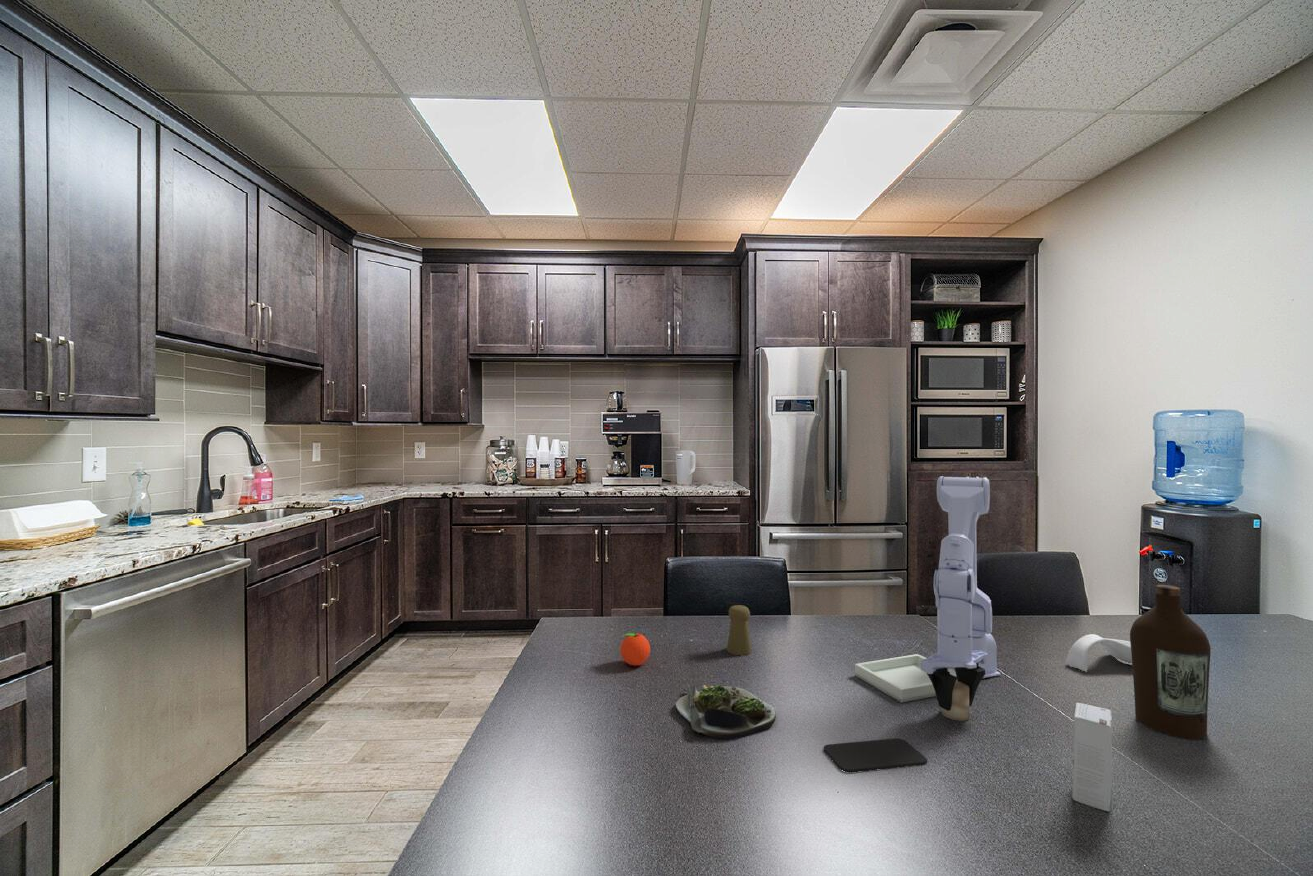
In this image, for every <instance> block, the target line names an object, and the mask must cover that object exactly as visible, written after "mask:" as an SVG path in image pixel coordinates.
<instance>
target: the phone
mask: <svg viewBox="0 0 1313 876" xmlns="http://www.w3.org/2000/svg"><path fill="white" fill-rule="evenodd" d="M823 752H824V753H825V755H828V756H829V757H830V758H831V759H830V758H829V757H828V756H827V757H828V758H829V759H830V760H831V761H832V760H833V761H832V762H833V763H835V764H836V765H837V766H838V767H837V766H836V765H835V764H834V765H835V766H836V767H837V769H839V770H840V769H841V770H843V771H845V772H849V773H848V774H853V773H852V772H856V773H859V772H858V771H865V772H870V771H869V770H874V771H878V770H877V769H882V770H888V769H897V767H899V768H905V766H908V767H914V766H913V765H917V766H924V765H927V764H928V759H927V757H926V756H924V754H922V753H921V752H920V751H919V750H917V749H916V748H915V747H914V746H913V745H912V744H910V743H909V742H907V741H906V740H905V739H903V738H898V737H897V738H886V739H885V738H884V739H874V740H862V741H855V742H854V741H853V742H852V741H851V742H842V743H832V744H831V743H829V744H826V745H823ZM926 763H927V764H926ZM841 770H840V771H841ZM843 771H842V772H843ZM845 772H844V773H845ZM850 772H851V773H850Z"/></svg>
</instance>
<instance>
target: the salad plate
mask: <svg viewBox="0 0 1313 876" xmlns="http://www.w3.org/2000/svg"><path fill="white" fill-rule="evenodd" d="M686 689H687V694H686V695H684V696H681V697H680V698H679V699H678V700H677V702H676V703H675V707H676V709H677V711H678V712H679V714H680V715H681V716H683V717H684V719H686V721H688V722H689V723H690V725H691V728H692V730H693V731H695V732H697V733H701V734H703V735H705V736H707V737H711V738H714V739H720V740H721V739H722V740H723V739H724V740H731V739H737V738H742V737H747V736H749V735H754V734H757V733H760V732H763V731H766V730H767V729H769V728H770V727H772V725H773V724H775V721H776V718H777V714H776V710H775V708H774V707H773V706H772V705H770V704H769V703H767V702H765V701H763V700H761V699H760V698H758V697H756V695H754V694H752V693H751V692H750V691H747V689H744V688H741V687H736V686H722V685H719V684H717V685H715V686H714V685H711V686H708V687H707V685H706V684H703V685H702V688H701V691H698V689H697V687H696V685H695V684H688V685H687V686H686ZM732 701H734V702H732Z"/></svg>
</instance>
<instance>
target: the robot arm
mask: <svg viewBox="0 0 1313 876" xmlns="http://www.w3.org/2000/svg"><path fill="white" fill-rule="evenodd" d="M990 486H991V485H990V479H988V478H987V477H986V476H983V477H965V476H964V477H963V476H962V477H961V476H960V477H959V476H943V475H942V476H941V475H940V476H939V477H938V478H937V481H936V499H937V502H938V504H939V507H940V508H941V510H942V511H944V512H946V513H947V515H948V516H947V517H948V521H947V522H948V524H947V525H948V535H946V536H945V537H943V538H942V540H941V542H940V553H939V559H938V561H939V562H938V569H935V570H934V575H933V591H934V597H935V607H936V608H937V610H936V611H937V652H936V653H934V654H932V655H930V656H928V657H925V658H926V659H922V660H921V670H922V671H924V672H926V673H927V675H928V676H929V678H930V680H931V682H932V684H933V687H934V690H935V693H936V696H935V697H936V701H937V703H938V704H937V705H938V707H939V708H943V709H945V710H947V711H950V710H951V707H952V693H953V688H954V685H955V682H956V680H957V681H958V682H962V683H964V684H966V685H968V686H969V707H972V705H973V701H974V700H975V699H974V698H975V695H976V692H977V689H978V687H979V685H980V683H981V681H982V679H985V678H991V677H997V676H1000V675H1001V672H999V671H998V670H997V669H998V668H997V660H998V659H997V644H996V640H995V638H994V637H993V635H992V631H993V608H992V600H991V599H990V597H989V596H988V595H987V594H986V593H985V592H983V591H982V590H981V589H979V588H978V585H977V584H978V580H977V579H978V578H977V575H978V573H977V572H978V571H977V570H978V569H977V568H978V566H977V565H978V564H977V563H978V561H977V553H978V552H977V522H978V519H979V517H980V516H983V515H985V514H988V513H989V510H990V503H991V502H990V498H991V491H990V490H991V487H990ZM948 669H952V670H954V671H955V672H956V676H957V677H955V676H953V675H951V674H950V672H948Z"/></svg>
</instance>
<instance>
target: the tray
mask: <svg viewBox="0 0 1313 876" xmlns="http://www.w3.org/2000/svg"><path fill="white" fill-rule="evenodd" d="M926 658H927V657H925V656H923V655H920V654H918V653H914V654H909V655H903V656H897V657H891V658H885V659H878V660H873V661H872V660H871V661H866V662H865V661H863V662H858V663H855V664H854V676H855V677H857V678H859V679H860V680H862V681H864V682H866V683H867V684H869V685H870V686H872V687H874V688H876V689H877V690H879V691H881V692H882V693H884V694H886V695H888V696H889V697H891V696H892V697H891V698H894V699H895V700H897V701H898V702H900V703H907V702H911V701H917V700H921V699H927V698H928V699H929V698H932V697H933V698H934V697H937V696H936V693H935V690H934V687H933V684H932V682H931V680H930V678H929V676H928V675H927V673H926V672H924V671H922V670H921V660H922V659H926ZM948 672H950V674H951V675H953V676H955V677H957V676H956V672H955V671H954V670H952V669H948ZM956 681H957V680H956Z"/></svg>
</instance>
